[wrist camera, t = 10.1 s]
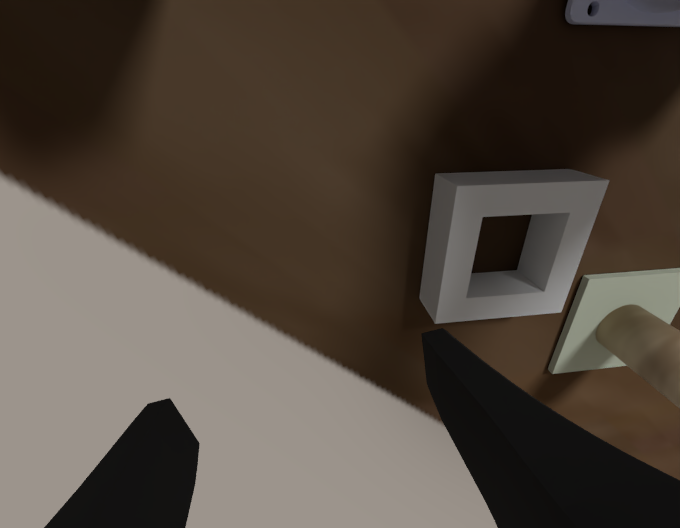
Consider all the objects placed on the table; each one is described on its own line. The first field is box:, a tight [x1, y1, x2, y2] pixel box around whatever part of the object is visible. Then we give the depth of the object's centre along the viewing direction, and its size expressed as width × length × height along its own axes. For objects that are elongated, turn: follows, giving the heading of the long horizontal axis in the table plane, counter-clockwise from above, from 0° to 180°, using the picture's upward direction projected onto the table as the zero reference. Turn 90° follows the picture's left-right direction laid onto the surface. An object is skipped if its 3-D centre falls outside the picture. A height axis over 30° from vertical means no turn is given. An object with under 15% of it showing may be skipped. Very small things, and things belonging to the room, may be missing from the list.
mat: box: [548, 268, 680, 374], centre depth 24 cm, size 8×8×1 cm
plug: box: [596, 304, 680, 408], centre depth 21 cm, size 4×4×6 cm
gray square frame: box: [419, 169, 610, 324], centre depth 18 cm, size 8×8×2 cm
